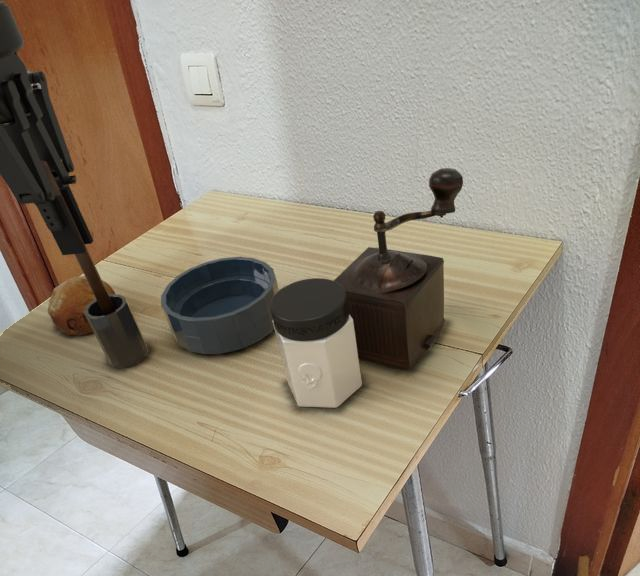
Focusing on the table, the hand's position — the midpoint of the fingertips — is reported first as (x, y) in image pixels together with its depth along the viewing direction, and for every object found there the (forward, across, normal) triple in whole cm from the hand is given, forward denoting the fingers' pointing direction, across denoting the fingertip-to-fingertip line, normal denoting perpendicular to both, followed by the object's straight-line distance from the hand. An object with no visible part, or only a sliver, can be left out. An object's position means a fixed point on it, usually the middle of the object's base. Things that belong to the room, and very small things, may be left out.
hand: (78, 247), depth 69 cm
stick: (+10, 0, 0) cm, 10 cm away
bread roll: (+16, +10, +10) cm, 22 cm away
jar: (+16, -8, -28) cm, 33 cm away
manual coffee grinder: (+16, +3, -37) cm, 40 cm away
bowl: (+16, +6, -13) cm, 21 cm away
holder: (+16, 0, 0) cm, 16 cm away
